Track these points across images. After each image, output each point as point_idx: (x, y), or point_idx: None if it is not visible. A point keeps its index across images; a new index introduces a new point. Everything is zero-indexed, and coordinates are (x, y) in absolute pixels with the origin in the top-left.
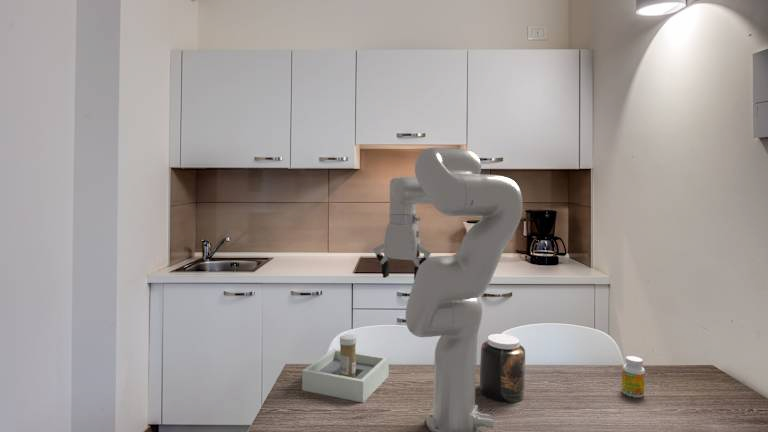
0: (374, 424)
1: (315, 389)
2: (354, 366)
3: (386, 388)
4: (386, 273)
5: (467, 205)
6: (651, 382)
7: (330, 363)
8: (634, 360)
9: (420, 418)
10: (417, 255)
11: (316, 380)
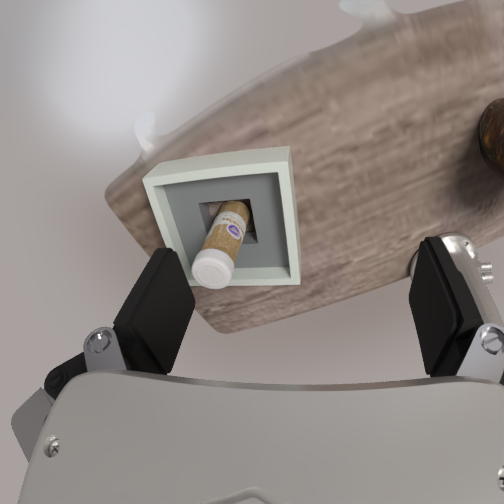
0: (343, 298)
1: None
2: (243, 234)
3: (313, 199)
4: (182, 304)
5: None
6: None
7: (171, 203)
8: None
9: (399, 264)
10: (490, 394)
11: None
